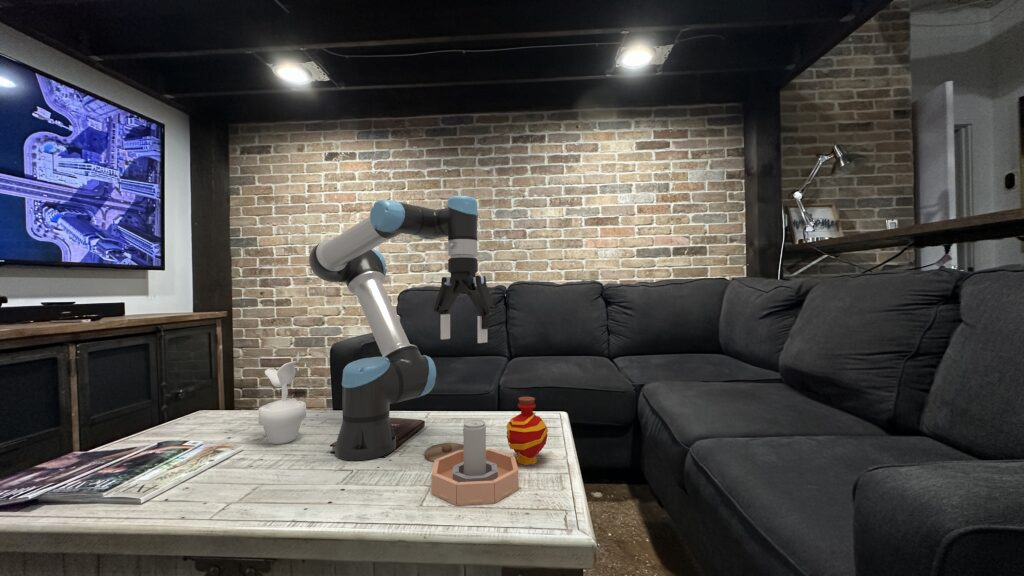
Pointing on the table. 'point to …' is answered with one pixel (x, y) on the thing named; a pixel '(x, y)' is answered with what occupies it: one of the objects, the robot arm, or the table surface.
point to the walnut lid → (441, 450)
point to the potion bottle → (526, 432)
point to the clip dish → (476, 486)
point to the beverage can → (474, 447)
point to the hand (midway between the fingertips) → (463, 340)
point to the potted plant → (282, 407)
